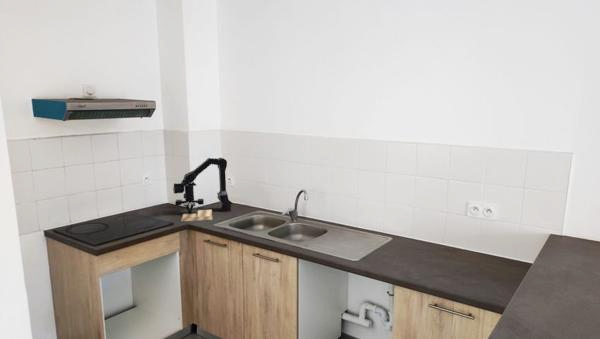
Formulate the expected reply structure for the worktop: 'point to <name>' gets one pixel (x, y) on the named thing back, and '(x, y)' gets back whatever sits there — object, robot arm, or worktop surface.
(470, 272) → the worktop surface
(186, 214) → the plank
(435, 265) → the worktop surface
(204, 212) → the plank
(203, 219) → the floor strip
